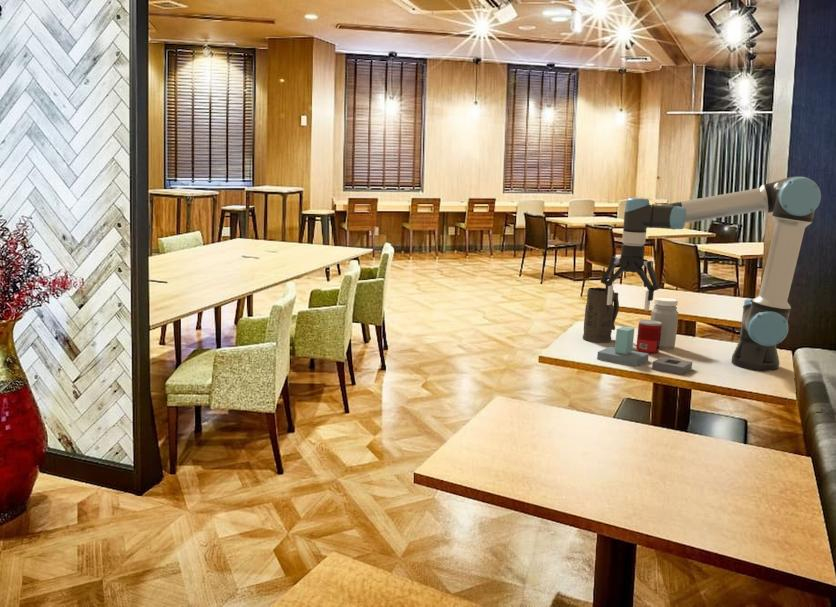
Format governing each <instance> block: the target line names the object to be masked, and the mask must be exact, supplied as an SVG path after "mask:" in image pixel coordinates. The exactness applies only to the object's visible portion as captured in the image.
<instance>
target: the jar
mask: <svg viewBox="0 0 836 607" xmlns="http://www.w3.org/2000/svg"><path fill="white" fill-rule="evenodd" d="M678 302H679V301H678V299H676V298H673V297H663V296H662V297H659V296H658V297H655V298H654V305H653V308H652V309H651V313H650V314H651V315H650V320H654V321H659V322H661V323H662V329H661V338H660V348H659V350H672V349H674V347H675V346H676V338H677V330H678V319H679V311H678V307H677V306H678Z"/></svg>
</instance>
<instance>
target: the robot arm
mask: <svg viewBox="0 0 836 607" xmlns="http://www.w3.org/2000/svg"><path fill="white" fill-rule="evenodd" d="M820 189H821V188H820V187H819V186H818V184H817V183H816V182H815V181H814V180H812V179H811V178H809V177H806V176H797V175H796V176H788V177H786V178H782V179H780V180H776V181H772V182H768V183H763V184H762V185H760V187H758V188H757V187H756V188H753V189H746V190H740V191H735V192H729V193H723V194H716V195H711V196H706V197H701V198H694V199H687V200H683V201H677V202H673V203H664V204H661V205H658V204H657V205H654V204H650V199H648V198H644V197H643V198H642V197H629V198H627V199H626V201H625V206H624V212H623V213H624V215H623V217H624V218H623V226H622V227H623V229H622V239H621V243H622V245H621V250H620V251H621V252H620V258H619V257H617V256H613V257H611V258H610V264H609V265H608V266H607V267H608V268H607V269H606V271H605V273H603V276H602V278H601V280H600V283H601V284H602V285H603V284H604V286H605V288H606V289H605V294H606V295H607V305H611V304H612V296H613V290H614V285H612V284H613V283H614V282H615V281H616V280H617V279H618V278H619V277H620V276H621V275H622V274H623V273H624V272H625V273H626V272H627V273H628V272H630V273H636V274H637V275H638V276H639V278H640V279H641V281H642V282H643V284H644V285H645V287H646V288H647V290H645V298H644V310H643V311H646V312H647V311H650V306H651V305H650V304H651V302H652V301H653V300H654V293H655V291H658V290H660V289H661V286H660V283H659V281H658V277H657V275H656V272H655V269H654V261H653V260H646V261H645V250H646V248H645V247H646V246H645V244H646V241H647V240H646V238H647V237H646V236H647V229H648V228H650V229H651V228H652V229H654V228H655V229H665V230H683V229H685V226H686V224H687V223H694V222H700V221H706V220H712V219H717V218H718V219H719V218H724V217H733V216H737V215H744V214H749V213H756V212H762V211H763V212H764V213H766V214H769V213H772V216H771V218H772V219H773V221H774V222H775V225H774V228H773V234H772V238H771V243H770V247H769V250H768V254H767V255H768V256H767V258H766V263H765V268H764V271H763V275H762V280H761V285H760V289H759V293H758V295H757V296H756V297H755V298H746V299H745V300H744V302H743V305H742V317H741V325H740V333H739V341H738V342H737V344H736V345H737V346H736V347H735V349H734V351H733V354H732V355H731V364H733V365H735V366H737V367H740V368H744V369H749V370H753V371H765V370H767V371H769V370H771V371H777V370H779V368H780V358H779V353H778V349H777V345H778V344H780V343H782V342H783V341H784V340H785V339H786V338H787V336H788V333H789V323H788V321H789V317H790V313H791V309H792V307H791V305H790V303H789V302H788V299H789V296H790V295H789V294H790V291H791V287H792V283H793V280H794V275H795V271H796V267H797V262H798V259H799V254H800V250H801V246H802V241H803V239H804V234H805V229H806V228H807V227H808V226H810V225H811V224H812V223H813V219H814V215H815V212H816V211H815V210H816V209H817V208H818V207H819V206H820V203H821V199H822V194H821V190H820ZM617 264H619V265H620V267H619V268H618V269H617V271H616V272H615V273H613V271H614V269H615V268H616V266H617ZM643 266H645V268H646V269H647V272H648V276H649V277H648V276H647V274H646V273H645V270H644V268H643ZM612 273H613V275H612V276H611V274H612ZM610 276H611V277H610ZM649 278H650V279H649ZM650 280H651V281H650Z"/></svg>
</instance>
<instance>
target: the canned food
mask: <svg viewBox="0 0 836 607" xmlns="http://www.w3.org/2000/svg"><path fill="white" fill-rule="evenodd" d="M661 329H662V323H661V322H659V321H654V320H651V319H640V320H639V321H638V327H637V337H636V348H635V349H636V351H637V352H643V353H648V354H649V355H656V354H658V353H659V352H660V349H659V348H660V338H661Z"/></svg>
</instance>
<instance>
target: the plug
mask: <svg viewBox="0 0 836 607" xmlns="http://www.w3.org/2000/svg"><path fill="white" fill-rule="evenodd" d="M634 338H635V328H634V327H630V326H629V327H628V326H621V327H619V328H616V334H615V344H614V345H615V346H614V347H615V352H617V354H623V355H628V354H630V352H631V351H633V348H634V347H633V346H634Z"/></svg>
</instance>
